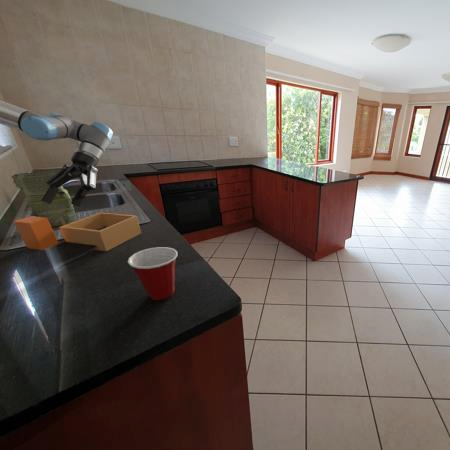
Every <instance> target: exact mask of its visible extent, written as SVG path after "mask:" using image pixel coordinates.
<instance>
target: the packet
mask: <svg viewBox="0 0 450 450" xmlns="http://www.w3.org/2000/svg"><path fill="white" fill-rule="evenodd" d="M12 222H13V224H14V226H15V228H16V230H17V231H18V234H19V235H20V237H21V240H22V241H23V243H24V245H25V247H26V248H27V249H31V250H37V251H44V250H47V249H50V248H51V247H54V246H56V245H60V244H59V241H58V238H57V237H56V234H55V232H54V230H52V228H51V225H50V223H49V221H48V219H47V218H44V217H35V215H34V216H33V215H31V216H28V217H24V218H20V219H17V220H14V221H12Z"/></svg>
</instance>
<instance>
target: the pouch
mask: <svg viewBox="0 0 450 450" xmlns="http://www.w3.org/2000/svg"><path fill="white" fill-rule="evenodd" d="M61 169H62V168H55V169H53V170H46V171H43V172H41V171H40V170H38V169H37V170H36V171H35V172H21V173H16V174H13V175H11V178H12V180H13V184H15V186H16V188H17V189H19V190H20V191H21V192H22V194H23V195H24V196H25V198H26V199H27V203H28V205H29V207H30V209H31V211H32V213H33V214H34V216H35V217H44V218H47V219H48V221H49V223H50V225H51V228H52V230H53V231H56V230H60V228H59V227H61V226H64V225H67V224H69V223H72V222H75V221H77V216H76V211H75V208H74V204H71V202H72V200H73V199H72V198H71V196H70V194H69V191H68V190H67V189H65V188H64V186H63V185H62V186H60V187H59V188H60V189H59V191H58V193H57V195H56V196H55V198H54V200H53V201H52V203H51V204H48V203H46V202H44V201H41V200H42V199H43V197H44V195H45V194H46V192H47V190H48V189H49V187H50V185H48V184H47V181H49V180H50V179H51V178H52V177H53V176H54V175H55V174H56V173H57V172H59V171H60V170H61Z"/></svg>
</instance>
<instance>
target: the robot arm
mask: <svg viewBox="0 0 450 450" xmlns="http://www.w3.org/2000/svg"><path fill="white" fill-rule="evenodd" d="M0 125H2V126H6V127H8V128H11V129H14V130H17V131H20V132H23V133H24V134H26V136H28V137H29V138H31V139H33V140H36V141H52V140H58V139H59V140H61V139H71V140H75V141H78V142H79V145H78V146H77V147H76V149H75V152H73V154H72V156H71V158H70V161H71V163H72V164H71V165H68V164H64V165H63V166H62V167H61V168H60V169H61V170H60V171H59V172H57V173H56V174H55V175H54V176H53V177H52V178H51V179H50V180H49V181H47V184H48V185H50V187H49V189H48V190H47V192H46V194H45V195H44V197H43V199H42V200H41V201H44V202H46V203H48V204H51V203H52V201H53V200H54V198H55V196H56V195H57V193H58V191H59V189H60V188H59V187H60V186H63V185H66V183H68V182H69V181H71V180H73V179H74V180H75V179H78V178H79V182H80V186H79V187H78V189H77V191H76V193H75V194H74V196H73V197H72V199H71V200H72V202H71V204H73V206H76V207H78V208H79V207H81V205H82V203H83V201H84V199H85V198H87V195H88V193H89V192H91V191H95V190H96V188H97V173H98V171H99V170H98V169H97V168H96V167H97V166H98V164H99V161H100V160H101V158H102V156H103V155H104V153H105V150H106V149H107V147H108V145H109V143H111V140H112V137H113V135H114V132H113V130H112V129H111V128H110V127H109V126H107V125H106V124H104V123H102V122H100V121H93V122H91V124H87V123H83V122H81V121H78V120H77V119H76V120H75V119H74V118H70V117H67V116H66V115H63V114H58V113H56V112H51V113H49V114H48V115H46V116H45V115H41V114H38V113H36V112H33V111H31V110H28V109H25V108H22V107H19V106H17V105H15V104H12V103H9V102H7V101H4V100H1V99H0Z"/></svg>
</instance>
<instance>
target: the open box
mask: <svg viewBox="0 0 450 450" xmlns="http://www.w3.org/2000/svg"><path fill="white" fill-rule="evenodd" d="M104 227H105V228H104ZM59 228H60V229H59V230H60V232H61V235H62V236H63V239H64V241H65V242H66V243H73V244H80V245H81V244H82V245H90V246H94V247H92V248H91V250H94V251H100V252H108V251H110V250H112V249H114V248H117V247H118V246H120V245H122V244H124V243H125V242H128V241H129V240H132V239H133V238H135V237H137V236H139V235H141V234H142V229H141V227H140V223H139V218H138V216H137V215H131V214H121V213H110V212H98V213H95V214H92V215H89V216H86V217H84V218H81V219H79V220H76V221H75V222H72V223H69V224H67V225H64V226H61V227H59ZM102 228H103V229H102ZM99 229H101V230H99Z"/></svg>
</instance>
